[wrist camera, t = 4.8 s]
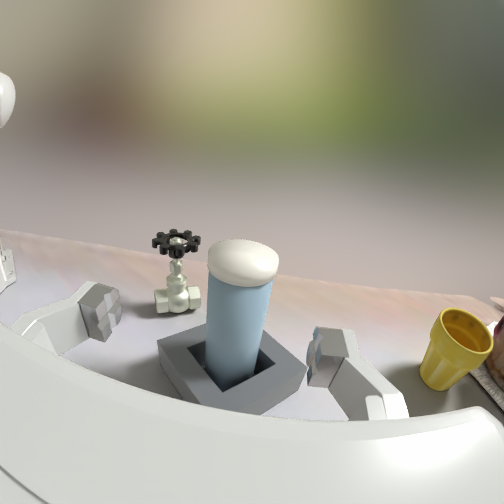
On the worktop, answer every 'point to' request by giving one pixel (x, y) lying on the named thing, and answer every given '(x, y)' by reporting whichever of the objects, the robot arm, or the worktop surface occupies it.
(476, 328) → the plant pot
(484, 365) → the cookie jar
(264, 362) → the housing
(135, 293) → the worktop surface
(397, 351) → the worktop surface
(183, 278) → the valve
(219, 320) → the blue bottle
